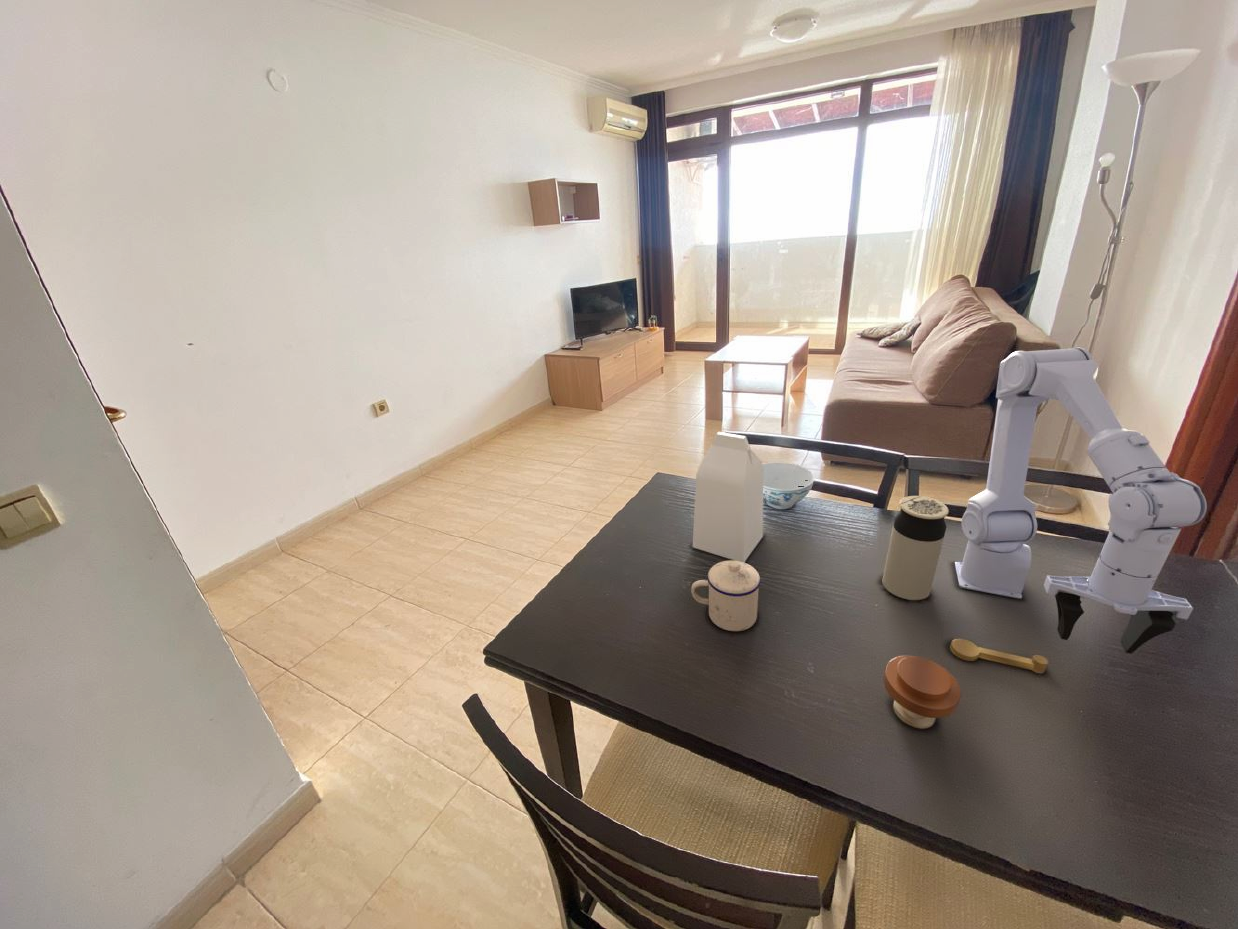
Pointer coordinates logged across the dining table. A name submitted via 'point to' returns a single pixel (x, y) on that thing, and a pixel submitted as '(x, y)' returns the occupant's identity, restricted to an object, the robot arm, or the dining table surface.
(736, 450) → the milk
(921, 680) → the mushroom
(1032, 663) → the spoon
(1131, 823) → the dining table surface
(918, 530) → the travel mug
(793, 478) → the chinaware
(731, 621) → the teacup with lid
